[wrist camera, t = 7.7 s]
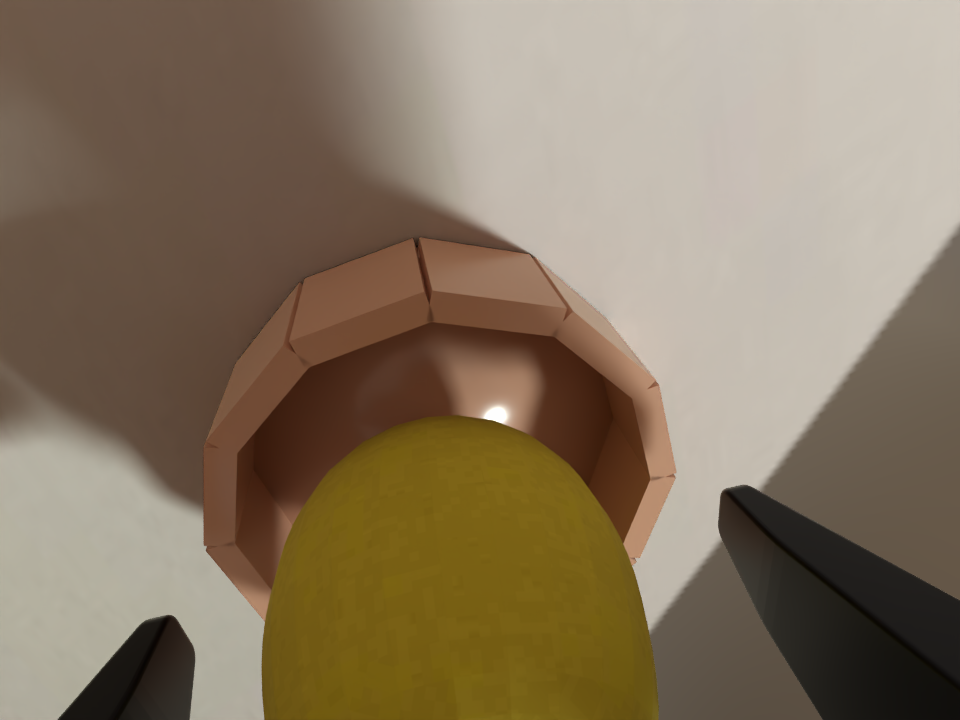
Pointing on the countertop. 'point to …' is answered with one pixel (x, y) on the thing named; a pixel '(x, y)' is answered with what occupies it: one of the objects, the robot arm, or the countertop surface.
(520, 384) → the dish
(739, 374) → the countertop surface
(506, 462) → the lemon
